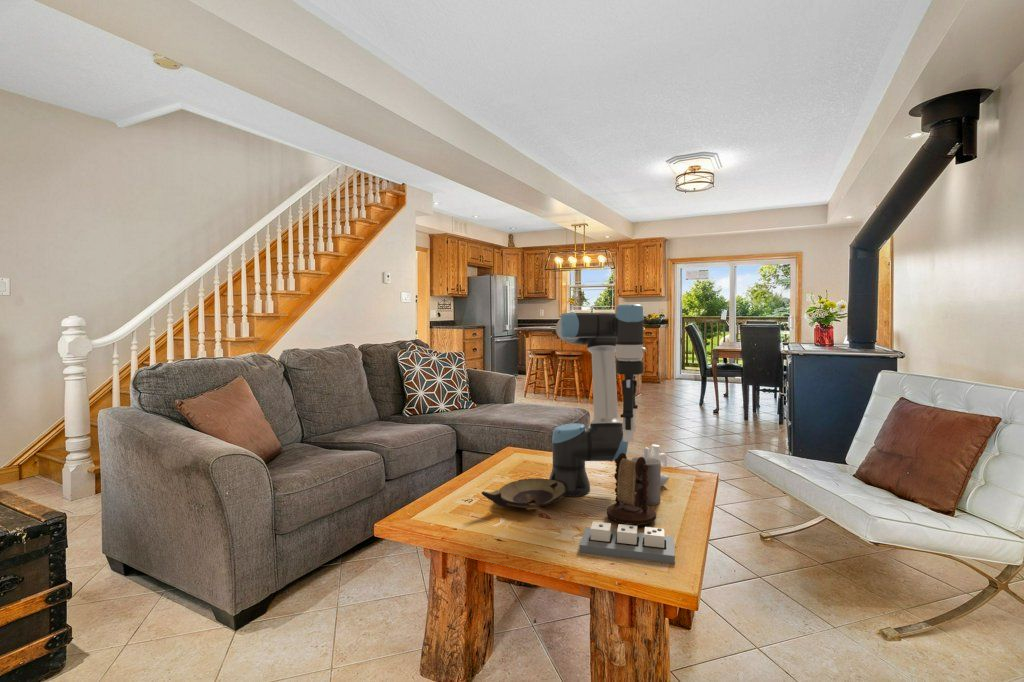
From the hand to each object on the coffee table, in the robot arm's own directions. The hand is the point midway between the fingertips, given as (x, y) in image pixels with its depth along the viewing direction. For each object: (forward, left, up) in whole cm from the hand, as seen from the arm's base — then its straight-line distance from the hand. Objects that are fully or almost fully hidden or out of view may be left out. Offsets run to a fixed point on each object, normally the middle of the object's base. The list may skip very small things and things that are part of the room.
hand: (629, 436), depth 142 cm
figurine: (+7, +47, -29) cm, 55 cm away
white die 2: (0, -8, -26) cm, 27 cm away
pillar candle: (+4, +30, -29) cm, 42 cm away
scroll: (0, +12, -29) cm, 31 cm away
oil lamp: (-35, +16, -29) cm, 48 cm away
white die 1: (-7, -8, -26) cm, 28 cm away
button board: (0, -8, -28) cm, 30 cm away
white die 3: (+7, -8, -26) cm, 28 cm away
